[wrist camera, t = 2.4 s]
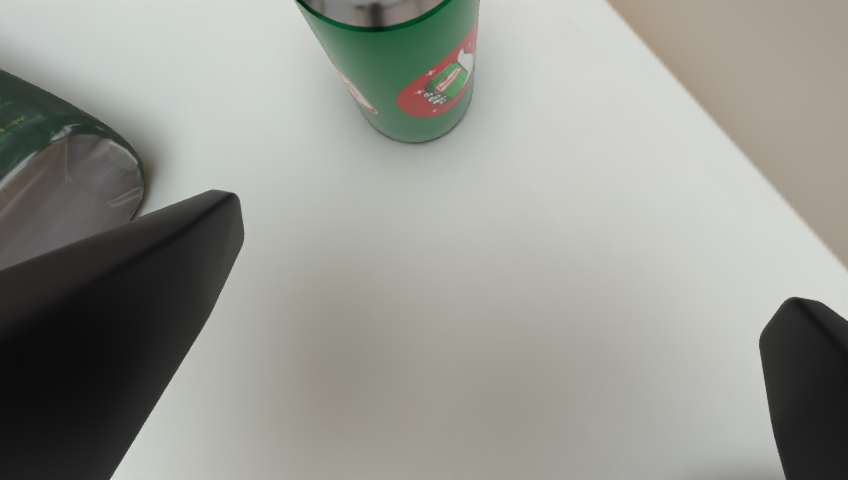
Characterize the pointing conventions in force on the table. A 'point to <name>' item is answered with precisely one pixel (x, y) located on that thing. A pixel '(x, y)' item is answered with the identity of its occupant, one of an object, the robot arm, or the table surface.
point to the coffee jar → (58, 173)
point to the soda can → (401, 59)
